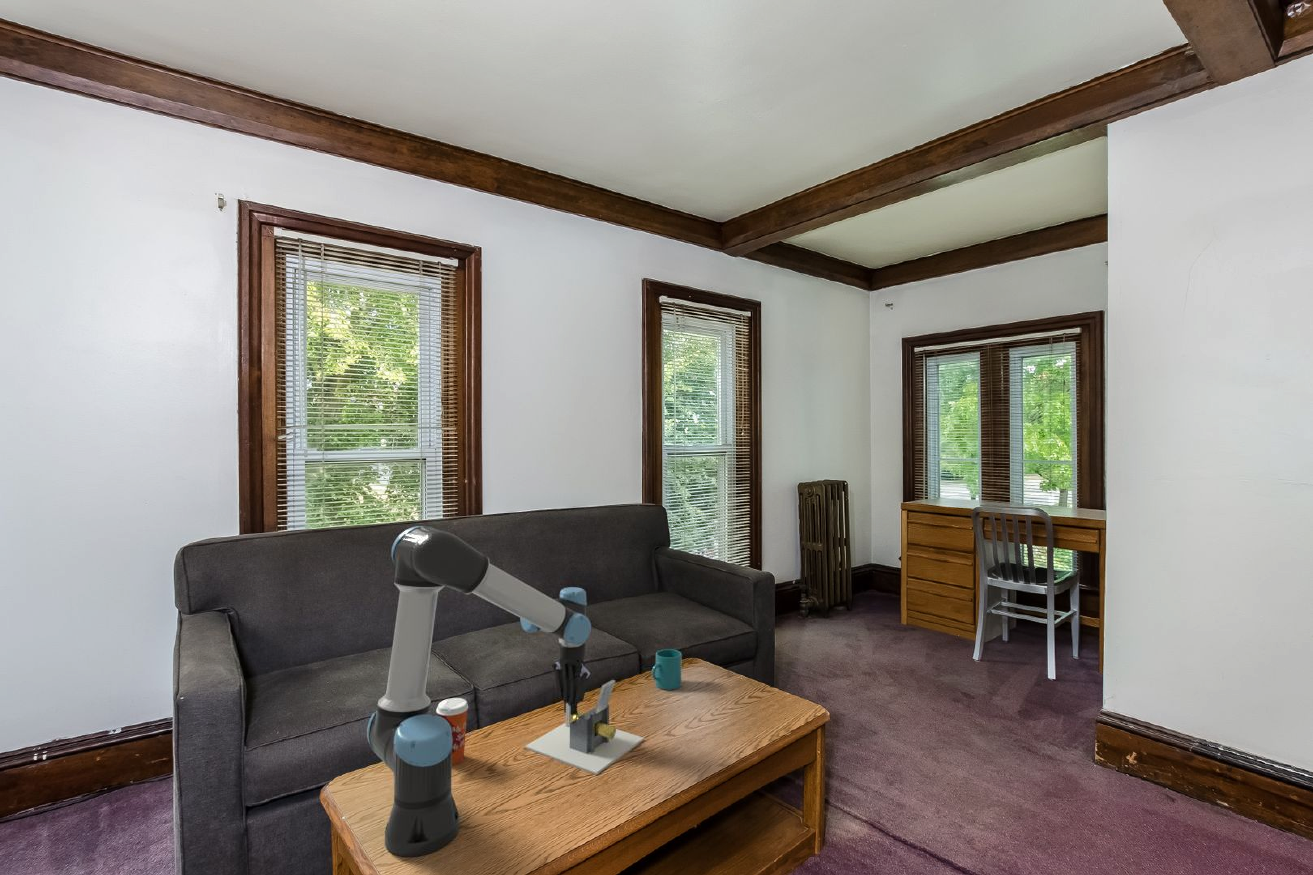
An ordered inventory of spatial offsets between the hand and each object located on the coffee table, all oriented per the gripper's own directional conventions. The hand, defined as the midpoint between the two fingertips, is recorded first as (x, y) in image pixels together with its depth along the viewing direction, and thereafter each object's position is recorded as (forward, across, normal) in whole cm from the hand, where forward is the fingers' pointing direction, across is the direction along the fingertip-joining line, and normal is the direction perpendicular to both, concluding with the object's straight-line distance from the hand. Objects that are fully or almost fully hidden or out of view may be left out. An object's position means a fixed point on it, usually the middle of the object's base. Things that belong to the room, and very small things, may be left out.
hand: (570, 724), depth 175 cm
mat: (+4, -6, 0) cm, 7 cm away
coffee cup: (+5, +19, +26) cm, 32 cm away
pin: (+1, -9, 0) cm, 9 cm away
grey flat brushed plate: (-7, -10, 0) cm, 12 cm away
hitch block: (+4, -7, 0) cm, 8 cm away
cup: (+4, -4, -47) cm, 47 cm away
